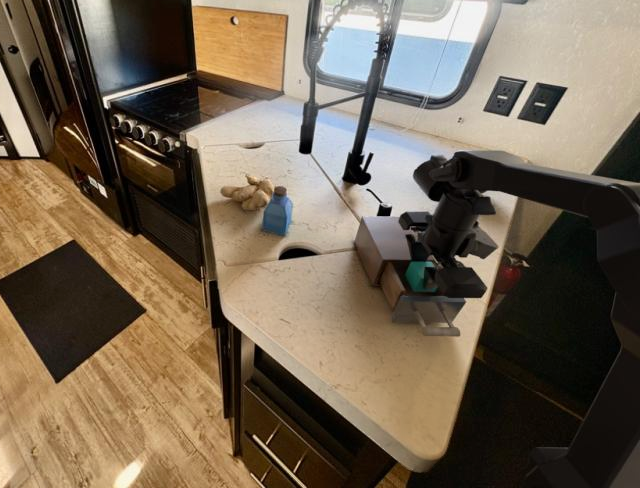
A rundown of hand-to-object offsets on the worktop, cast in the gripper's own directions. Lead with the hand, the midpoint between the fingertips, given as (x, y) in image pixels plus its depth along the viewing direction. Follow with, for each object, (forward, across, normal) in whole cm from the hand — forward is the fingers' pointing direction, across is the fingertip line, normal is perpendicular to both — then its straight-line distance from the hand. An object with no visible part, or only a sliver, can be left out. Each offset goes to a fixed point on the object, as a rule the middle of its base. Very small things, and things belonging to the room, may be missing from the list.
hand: (421, 279), depth 60 cm
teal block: (+1, 0, 0) cm, 1 cm away
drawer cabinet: (+7, +11, 0) cm, 13 cm away
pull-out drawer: (+7, -1, 0) cm, 7 cm away
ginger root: (+8, +35, +31) cm, 47 cm away
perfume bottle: (+8, +24, +26) cm, 36 cm away
